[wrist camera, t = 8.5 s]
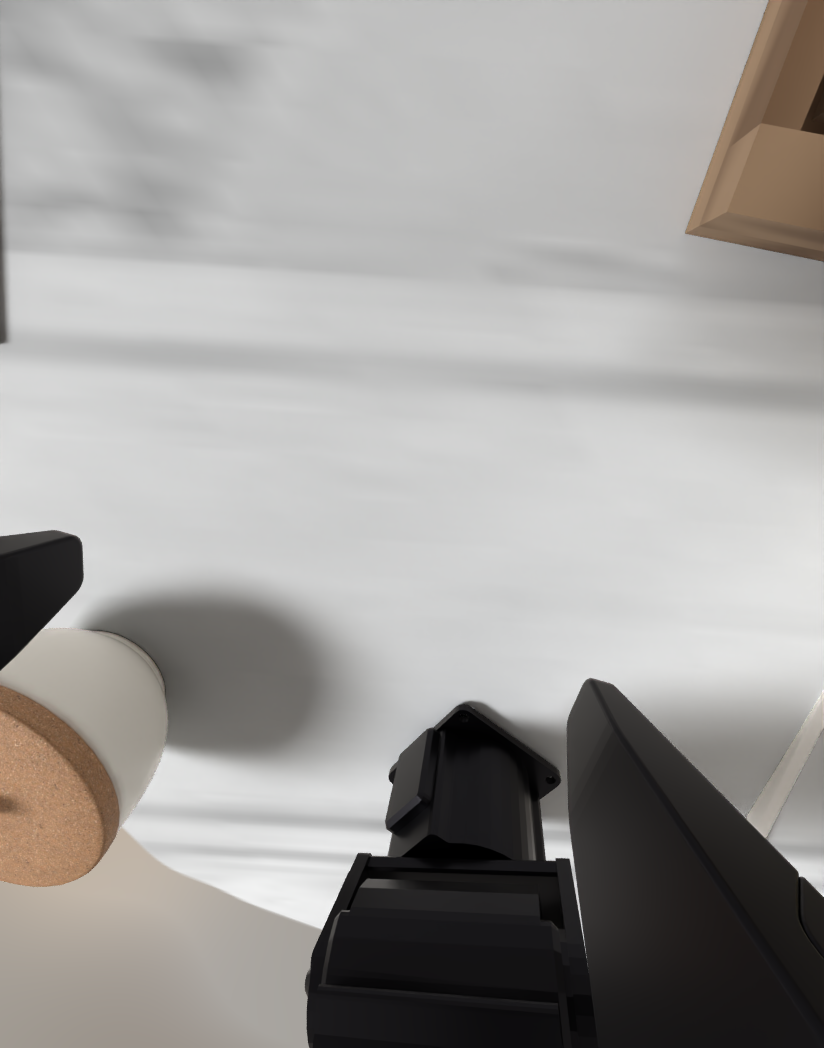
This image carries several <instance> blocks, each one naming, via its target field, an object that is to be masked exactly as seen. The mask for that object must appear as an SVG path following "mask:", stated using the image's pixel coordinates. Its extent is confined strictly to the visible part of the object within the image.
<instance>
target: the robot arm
mask: <svg viewBox="0 0 824 1048" xmlns="http://www.w3.org/2000/svg"><path fill="white" fill-rule="evenodd" d="M83 577H84V573H83V548H82V542H81V540H80V538H78V537H77V536H75V535H72V534H68V533H65V532H61V531H57V530H50V531H42V532H34V533H25V534H17V535H9V536H1V537H0V671H1V670H2V669H3V668H4V667H5V666H6V665H7V664H8V663H9V662H11V661H12V660H13V659H14V658H15V657H16V656H17V655H18V654H19V653H20V652H21V651H22V650H23V649H24V648H25V647H26V646H27V645H28V644H29V643H30V641H31V640H32V639H33V638H34V637H35V636H36V635H37V634H38V633H39V632H40V631H41V630H42V629H43V628H44V627H45V625H46V624H47V623H48V622H49V621H50V620H51V619H52V618H53V617H54V616H55V615H56V614H57V613H58V612H59V611H60V610H61V608H62V607H63V606H64V605H65V604H66V603H67V602H68V601H69V600H70V599H71V598H72V597H73V596H74V595H75V594H76V593H77V591H78V590H79V588H80V587H81V585H82V582H83ZM461 714H465V715H467V716H466V717H463V716H461ZM567 771H568V811H569V824H570V834H571V842H572V849H573V857H574V864H575V872H576V880H577V887H578V895H579V902H580V910H581V918H582V925H583V933H584V940H583V934H582V929H581V923H580V917H579V911H578V905H577V900H576V894H575V888H574V882H573V876H572V871H571V865H570V859H565V858H556V861H546V858H545V849H544V839H543V829H542V819H541V810H540V799H541V798H542V797H544V796H545V795H546V794H548V793H549V792H550V791H552V790H553V789H554V788H556V787H557V786H558V785H559V784H560V782H561V778H560V773H559V770H558V769H557V768H555V767H554V766H553V765H551V764H550V763H548V762H547V761H546V760H544V759H543V758H542V757H540V756H539V755H537V754H536V753H535V752H533V751H532V750H530V749H529V748H528V747H526V746H525V745H523V744H522V743H521V742H519V741H518V740H516V739H515V738H514V737H512V736H511V735H509V734H508V733H507V732H505V731H504V730H502V729H501V728H500V727H498V726H497V725H496V724H494V723H493V722H491V721H490V720H489V719H487V718H486V717H484V716H483V715H482V714H480V713H479V712H477V711H476V710H475V709H473V708H472V707H470V706H468V705H465V704H461V705H458V706H456V707H455V708H454V709H453V710H452V711H451V712H450V713H449V714H448V715H447V716H446V717H445V718H443V719H442V720H441V721H440V722H439V723H438V724H437V725H436V726H435V727H434V728H429V729H427V730H426V731H425V732H423V733H422V734H421V735H420V736H419V737H418V738H417V739H416V740H415V741H414V742H413V743H412V744H411V745H410V746H409V747H408V748H407V749H405V750H404V751H403V752H402V753H401V754H400V756H399V760H398V762H397V763H396V764H394V765H393V766H392V767H391V769H390V772H389V780H390V782H391V783H392V784H393V788H392V792H391V797H390V801H389V806H388V811H387V815H386V820H385V824H386V829H387V830H389V831H390V832H392V837H391V842H390V847H389V852H388V856H372V855H371V853H358V854H357V856H356V859H355V861H354V863H353V865H352V867H351V870H350V871H349V873H348V875H347V877H346V879H345V881H344V883H343V886H342V888H341V890H340V892H339V895H338V897H337V899H336V901H335V903H334V906H333V908H332V910H331V912H330V914H329V917H328V919H327V921H326V923H325V925H324V928H323V930H322V932H321V935H320V937H319V939H318V941H317V943H316V945H315V948H314V950H313V953H312V957H311V968H310V969H309V971H308V973H307V975H306V980H305V991H306V994H307V996H308V1001H307V1036H308V1044H309V1048H824V897H823V896H822V895H821V894H820V893H819V892H818V891H817V890H816V889H815V888H814V887H813V886H812V885H811V884H810V883H809V882H808V881H807V880H806V879H805V878H804V877H799V873H798V871H797V870H796V869H795V868H794V867H793V866H792V865H791V864H790V863H789V862H788V861H787V860H786V859H785V858H784V857H783V856H782V855H781V854H780V853H779V852H778V851H777V850H776V849H775V848H774V847H773V846H772V845H771V844H770V843H769V842H768V840H767V839H766V838H765V837H764V836H763V835H762V834H761V833H760V832H759V831H758V830H757V829H756V828H755V827H754V826H753V825H752V824H751V823H750V822H749V821H748V820H747V819H746V818H745V817H744V816H743V815H742V814H741V813H740V812H739V811H738V810H737V809H736V808H735V807H734V806H733V805H732V804H731V803H730V802H729V801H728V800H727V799H726V798H725V797H724V796H723V795H722V794H721V793H720V792H719V791H718V790H717V789H716V788H715V787H714V786H713V785H712V784H711V783H710V782H709V781H708V780H707V779H706V778H705V777H704V776H703V775H702V774H701V773H700V772H699V771H698V770H697V769H696V768H695V767H694V766H693V765H692V764H691V763H690V762H689V761H688V760H687V759H686V758H685V757H684V756H683V755H682V754H681V753H680V752H679V751H678V750H677V748H676V747H675V746H674V745H673V744H672V743H671V742H670V741H669V740H668V739H667V738H666V737H665V736H664V735H663V734H662V733H661V732H660V731H659V730H658V729H657V728H656V727H655V726H654V725H653V724H652V723H651V722H650V721H649V720H648V719H647V718H646V717H645V716H644V715H643V714H642V713H641V712H640V711H639V710H638V709H637V708H636V707H635V706H634V705H633V704H632V703H631V702H630V701H629V700H628V699H627V698H626V697H625V696H624V695H623V694H622V693H621V692H620V691H619V690H618V689H617V688H616V687H615V686H614V685H613V684H610V683H607V682H603V681H600V680H596V679H592V678H590V679H587V680H586V681H585V682H584V684H583V685H582V688H581V690H580V692H579V694H578V696H577V699H576V701H575V703H574V705H573V707H572V710H571V712H570V714H569V717H568V722H567ZM548 776H552V777H548ZM584 941H585V946H584ZM585 948H586V952H585ZM586 956H587V958H586ZM587 963H588V965H587Z"/></svg>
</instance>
